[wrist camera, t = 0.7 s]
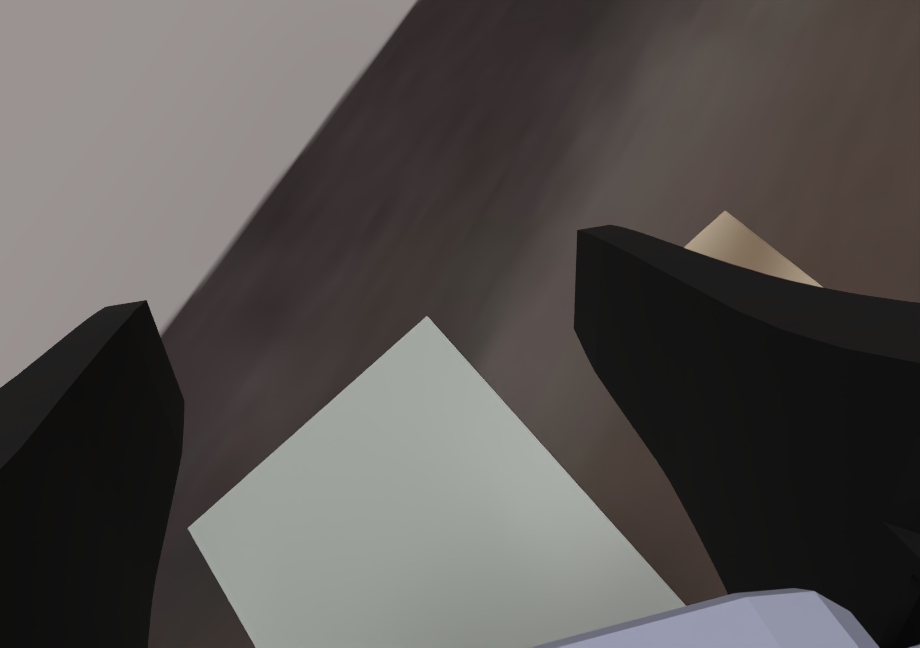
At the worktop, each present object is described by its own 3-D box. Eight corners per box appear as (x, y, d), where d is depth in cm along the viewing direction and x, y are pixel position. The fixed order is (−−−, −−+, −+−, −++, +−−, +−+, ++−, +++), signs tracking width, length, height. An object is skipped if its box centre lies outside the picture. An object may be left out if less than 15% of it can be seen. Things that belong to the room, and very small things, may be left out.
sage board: (788, 721, 22) (796, 730, 21) (483, 1007, 22) (475, 1031, 21) (434, 324, 30) (427, 315, 29) (204, 529, 30) (187, 528, 29)
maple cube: (805, 346, 26) (842, 303, 22) (714, 429, 26) (731, 403, 22) (709, 265, 28) (724, 210, 24) (623, 342, 28) (622, 302, 24)
